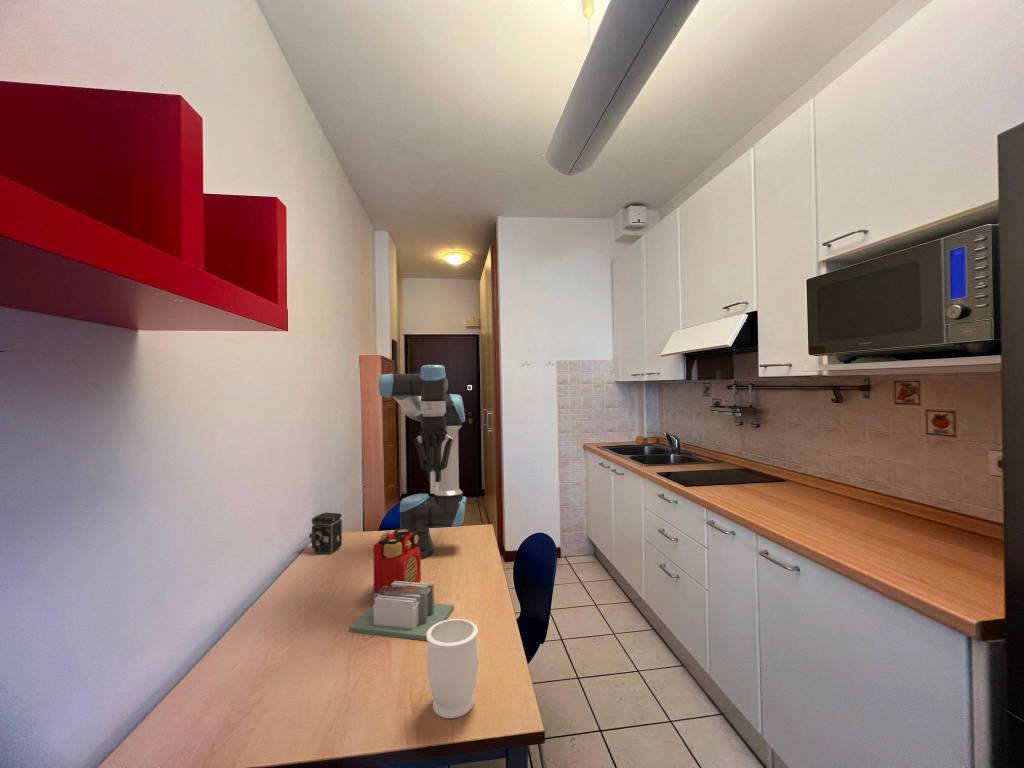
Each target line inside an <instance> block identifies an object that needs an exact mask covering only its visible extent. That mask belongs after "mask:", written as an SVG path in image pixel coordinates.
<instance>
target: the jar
mask: <svg viewBox="0 0 1024 768" xmlns="http://www.w3.org/2000/svg"><path fill="white" fill-rule="evenodd" d="M478 635H479V629H478V626H477V625H476V623H474V622H472V621H471V620H468V619H464V618H463V619H462V618H451V619H447V620H444V621H441V622H439V623H436V624H435V625H433V626H432V627H431V628H430V629H429V630H428V632H427V641H426V642H427V643H428V648H427V655H426V670H427V672H426V673H427V677H428V680H429V681H428V682H429V687H430V693H431V696H432V698H433V701H432V709H433V712H434V713H435V714H436V715H437V716H439V717H440V718H444V719H455V718H461V717H463V716H465V715H466V714H468V713H469V712H470V711H471V709H473V707H474V705H475V697H474V692H475V689H476V685H477V678H478V671H479V663H480V662H479V659H480V657H479V656H480V655H479V648H478V647H479V646H478V641H477V638H478Z"/></svg>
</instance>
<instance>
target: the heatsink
mask: <svg viewBox="0 0 1024 768" xmlns="http://www.w3.org/2000/svg"><path fill="white" fill-rule="evenodd" d="M406 586H417V587H431V591H430V592H429V593H428V594H427V592H422V591H421V592H420V595H389V594H383V595H381V593H375V594H374V593H373V605H372V606H371V607H369V608H368V610H366V611H365V612H364V613H363V614H362V615H361V616H360V617H359V618H357V619H356V620H355V621H354V622H352V624H351V625H350V626H348V632H350V633H358V634H366V635H373V636H374V635H375V636H382V637H393V638H401V639H408V640H409V639H410V640H418V641H424V642H425V641H426V642H428V641H427V632H428V630H429V629H430V628H431V627H432V626H433V625H435V624H436V623H439V622H441V621H444V620H448V618H449V617H450V615H451V614H452V613H453V611H454V610H455V605H453V604H447V603H446V604H444V603H437V602H436V603H435V602H434V601H435V594H434V592H435V591H434V589H435V588H434V586H435V585H434V584H431V583H425V582H424V583H423V582H420V583H414V582H402V581H394V583H392V587H406ZM383 587H389V586H383ZM383 587H382V588H383Z"/></svg>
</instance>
